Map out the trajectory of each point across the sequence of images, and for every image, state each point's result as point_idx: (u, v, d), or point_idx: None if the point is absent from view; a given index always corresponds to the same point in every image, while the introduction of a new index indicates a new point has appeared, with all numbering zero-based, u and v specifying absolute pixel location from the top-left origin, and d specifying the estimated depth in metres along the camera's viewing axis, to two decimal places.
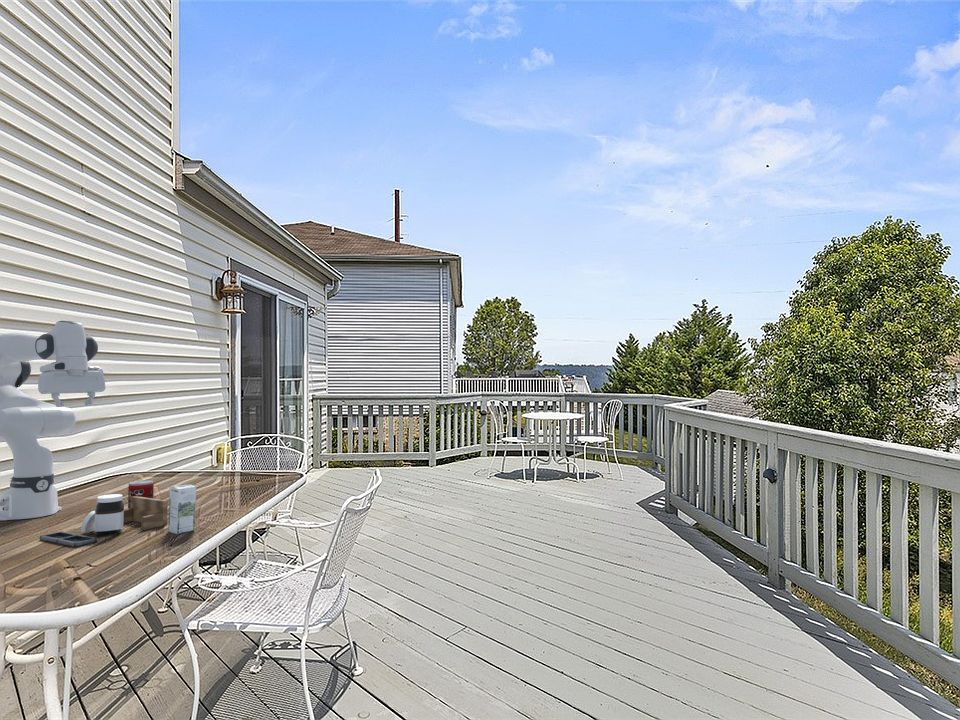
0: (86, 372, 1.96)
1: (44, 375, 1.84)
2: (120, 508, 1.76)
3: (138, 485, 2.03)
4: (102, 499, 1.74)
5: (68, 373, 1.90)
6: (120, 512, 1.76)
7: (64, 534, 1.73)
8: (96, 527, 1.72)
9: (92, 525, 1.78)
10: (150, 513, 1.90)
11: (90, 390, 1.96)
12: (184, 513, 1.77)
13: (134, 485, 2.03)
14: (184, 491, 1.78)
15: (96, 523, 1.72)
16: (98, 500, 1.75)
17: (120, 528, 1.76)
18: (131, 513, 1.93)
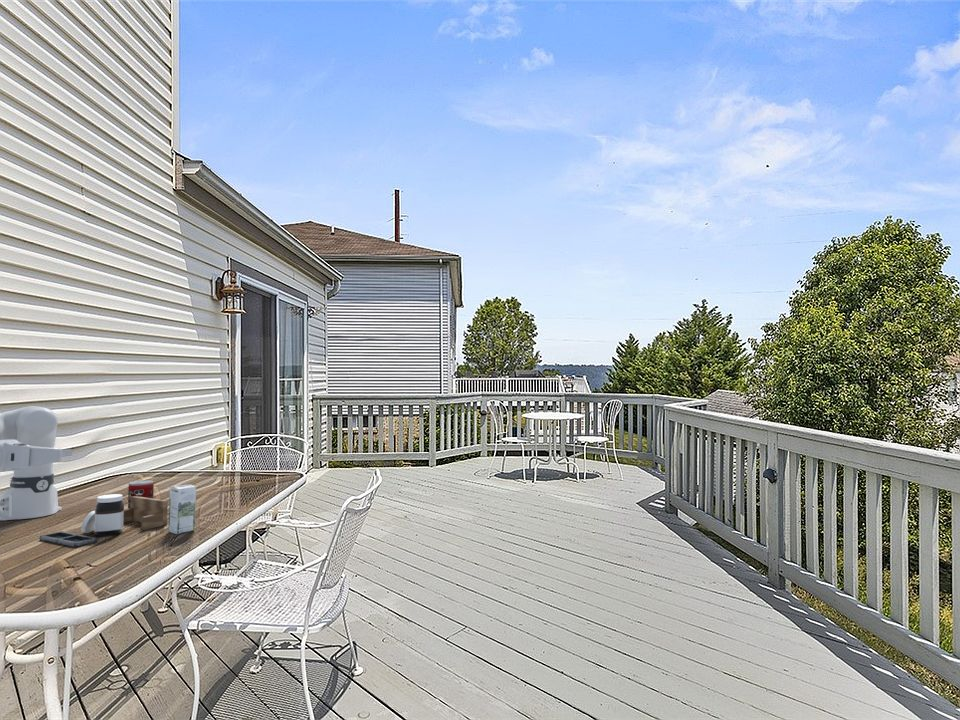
0: None
1: (38, 452, 1.54)
2: (120, 508, 1.76)
3: (138, 485, 2.03)
4: (102, 499, 1.74)
5: None
6: (120, 512, 1.76)
7: (64, 534, 1.73)
8: (96, 527, 1.72)
9: (92, 525, 1.78)
10: (150, 513, 1.90)
11: None
12: (184, 513, 1.77)
13: (134, 485, 2.03)
14: (184, 491, 1.78)
15: (96, 523, 1.72)
16: (98, 500, 1.75)
17: (120, 528, 1.76)
18: (131, 513, 1.93)
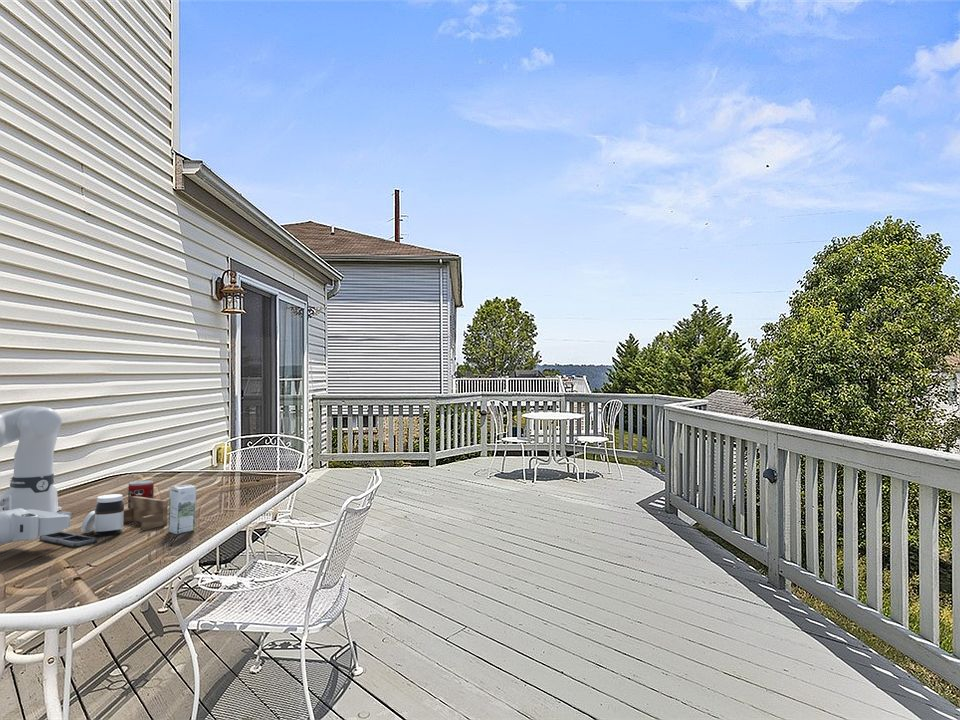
0: None
1: (47, 521, 1.55)
2: (120, 508, 1.76)
3: (138, 485, 2.03)
4: (102, 499, 1.74)
5: None
6: (120, 512, 1.76)
7: (64, 534, 1.73)
8: (96, 527, 1.72)
9: (92, 525, 1.78)
10: (150, 513, 1.90)
11: (40, 510, 1.65)
12: (184, 513, 1.77)
13: (134, 485, 2.03)
14: (184, 491, 1.78)
15: (96, 523, 1.72)
16: (98, 500, 1.75)
17: (120, 528, 1.76)
18: (131, 513, 1.93)
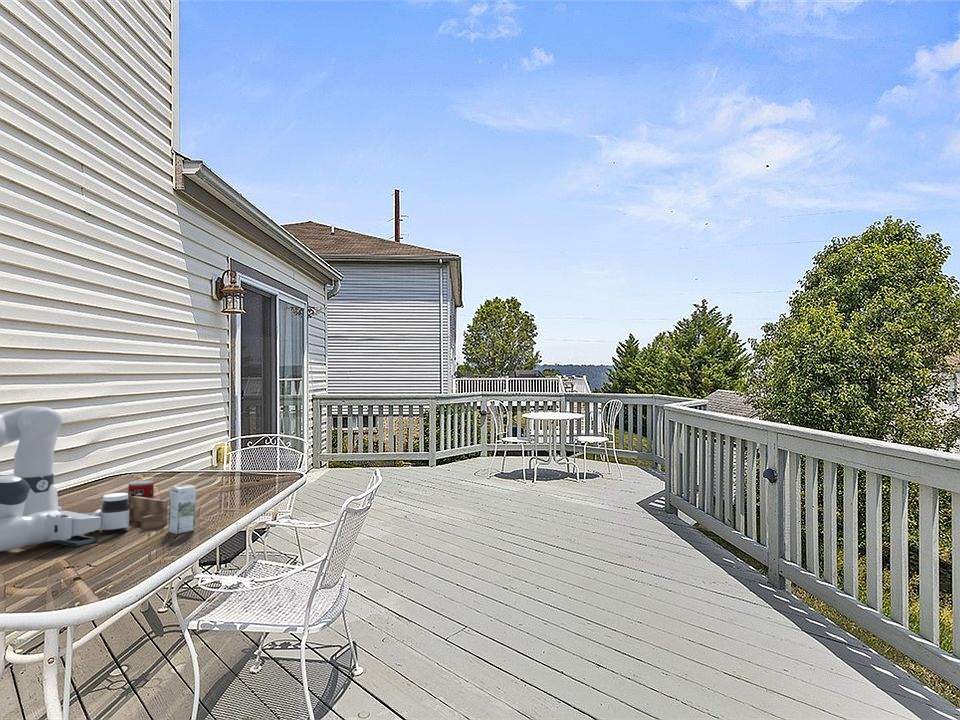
0: None
1: (80, 522, 1.62)
2: (126, 506, 1.78)
3: (138, 485, 2.03)
4: (109, 498, 1.76)
5: None
6: (127, 510, 1.78)
7: None
8: (103, 525, 1.74)
9: None
10: (150, 513, 1.90)
11: (71, 512, 1.73)
12: (184, 513, 1.77)
13: (134, 485, 2.03)
14: (184, 491, 1.78)
15: (103, 521, 1.74)
16: (104, 499, 1.76)
17: (126, 526, 1.78)
18: (131, 513, 1.93)
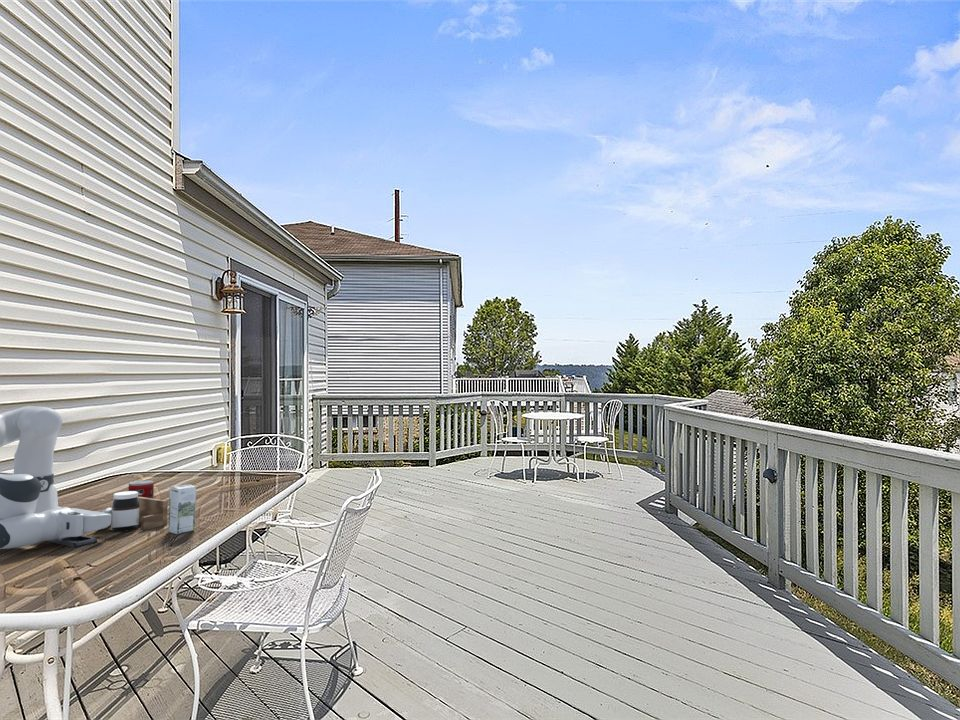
0: None
1: (91, 519, 1.65)
2: (137, 504, 1.82)
3: (138, 485, 2.03)
4: (119, 496, 1.79)
5: None
6: (137, 508, 1.81)
7: None
8: (114, 523, 1.77)
9: None
10: (150, 513, 1.90)
11: (82, 509, 1.76)
12: (184, 513, 1.77)
13: (134, 485, 2.03)
14: (184, 491, 1.78)
15: (114, 519, 1.77)
16: (115, 497, 1.80)
17: (137, 524, 1.81)
18: None
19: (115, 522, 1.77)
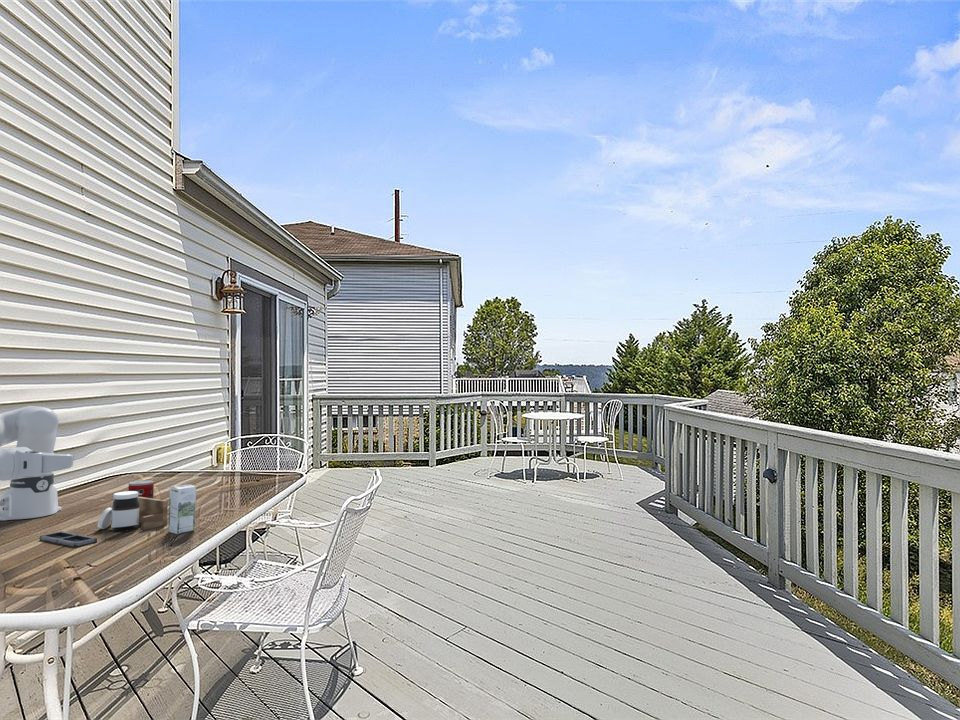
0: None
1: (51, 459, 1.56)
2: (137, 504, 1.82)
3: (138, 485, 2.03)
4: (119, 496, 1.79)
5: None
6: (137, 508, 1.81)
7: (64, 534, 1.73)
8: (114, 523, 1.77)
9: (107, 521, 1.83)
10: (150, 513, 1.90)
11: (43, 452, 1.67)
12: (184, 513, 1.77)
13: (134, 485, 2.03)
14: (184, 491, 1.78)
15: (114, 519, 1.77)
16: (115, 497, 1.80)
17: (137, 524, 1.81)
18: None
19: (115, 522, 1.77)
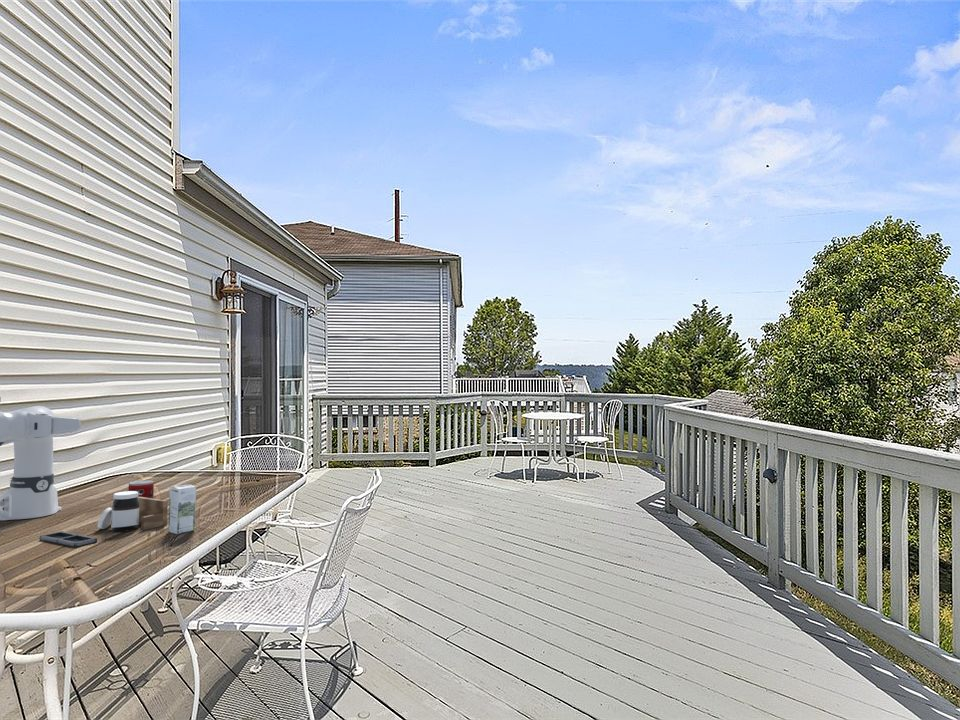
0: None
1: (60, 421, 1.66)
2: (137, 504, 1.82)
3: (138, 485, 2.03)
4: (119, 496, 1.79)
5: None
6: (137, 508, 1.81)
7: (64, 534, 1.73)
8: (114, 523, 1.77)
9: (107, 521, 1.83)
10: (150, 513, 1.90)
11: None
12: (184, 513, 1.77)
13: (134, 485, 2.03)
14: (184, 491, 1.78)
15: (114, 519, 1.77)
16: (115, 497, 1.80)
17: (137, 524, 1.81)
18: None
19: (115, 522, 1.77)
